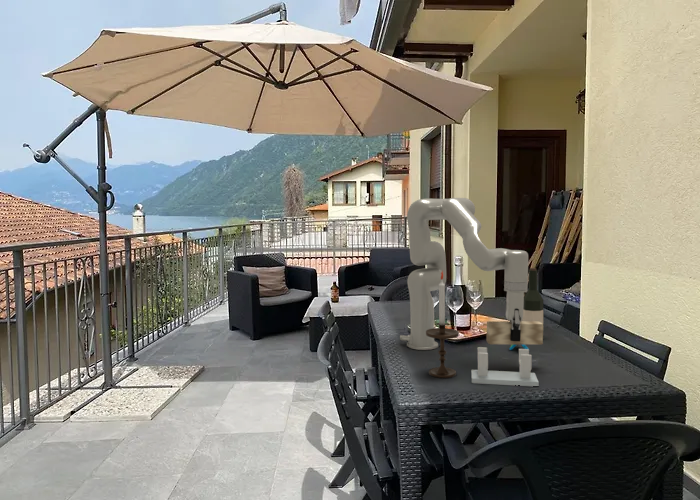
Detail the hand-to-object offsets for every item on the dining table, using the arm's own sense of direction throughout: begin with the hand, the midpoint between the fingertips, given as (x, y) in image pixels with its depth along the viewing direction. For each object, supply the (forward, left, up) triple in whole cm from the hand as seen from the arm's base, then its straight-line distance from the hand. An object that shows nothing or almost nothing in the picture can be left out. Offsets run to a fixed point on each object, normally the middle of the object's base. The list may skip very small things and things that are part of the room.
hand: (514, 338), depth 170 cm
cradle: (-5, -13, -10) cm, 18 cm away
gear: (+4, +24, -11) cm, 26 cm away
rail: (0, 0, -2) cm, 2 cm away
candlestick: (-24, -10, -11) cm, 28 cm away
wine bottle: (+11, +44, -11) cm, 46 cm away
